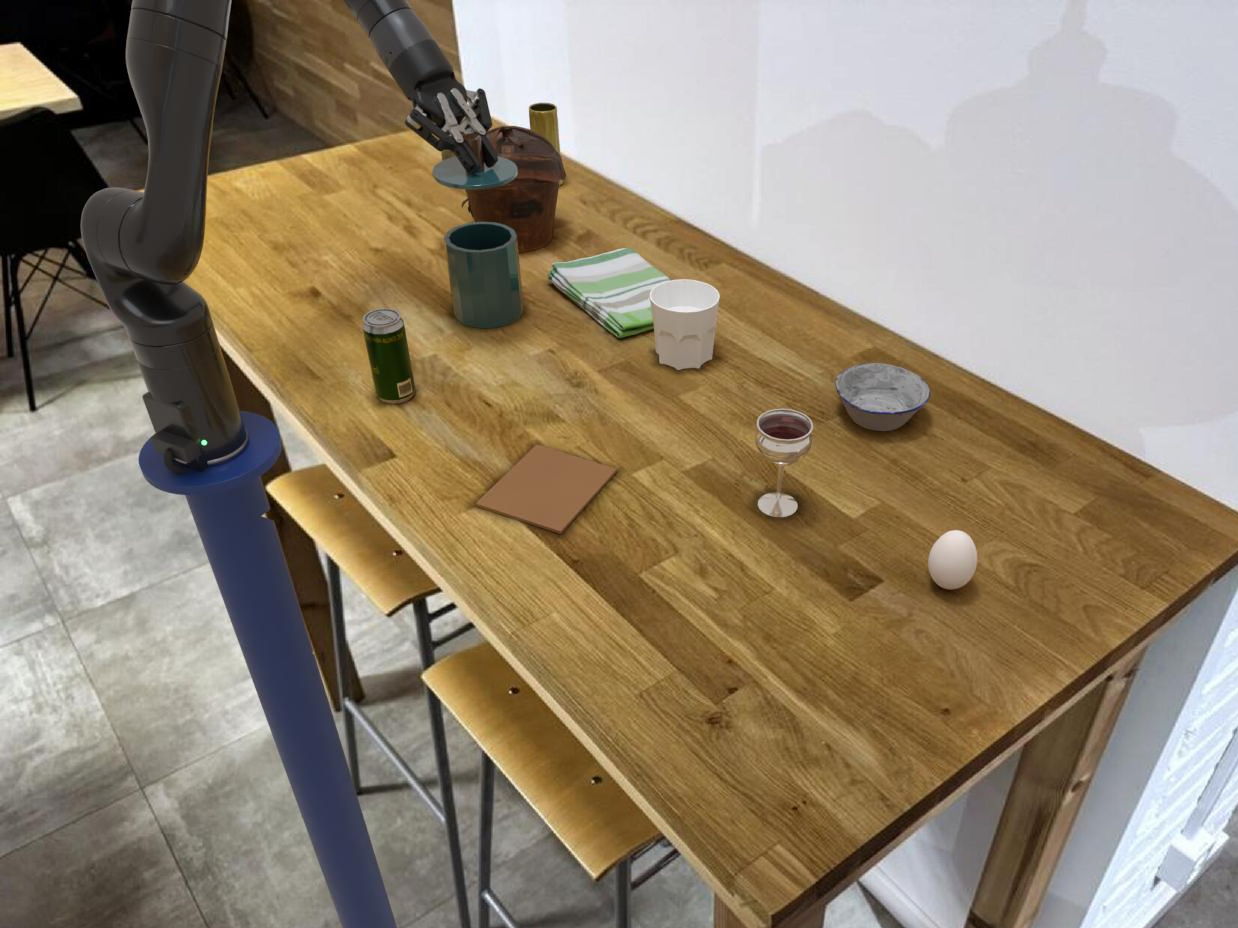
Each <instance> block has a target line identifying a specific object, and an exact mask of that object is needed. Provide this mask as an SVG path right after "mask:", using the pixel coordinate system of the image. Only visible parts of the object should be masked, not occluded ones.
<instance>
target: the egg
mask: <svg viewBox="0 0 1238 928" xmlns="http://www.w3.org/2000/svg"><path fill="white" fill-rule="evenodd" d="M927 567H928V568H927V569H928V572H929V575H930V577H931V579H932V580H933V582H934V583H935V584H936V585H937V586H939V587H941V588H942V589H945V590H956V589H960V588H962V587H964V586H965V585H967V584H968V583H969V582H970V581H971V580H972V578H973V576H974V575H975V573H976V570H977V567H978V551H977V548H976V544H975V543H974V541H973V538H971V536H970V535H969V534H968V533H966V532H965V531H963V530H959V529H954V530H949V531H946V532H945V533H943V534H942V535H941V536H940V537H939V538H938V539H936V541H935V542H934V543H933V545H932V547H931V549H930V551H929V555H928V559H927Z"/></svg>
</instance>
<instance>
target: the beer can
mask: <svg viewBox="0 0 1238 928" xmlns="http://www.w3.org/2000/svg"><path fill="white" fill-rule="evenodd" d="M361 327H362V333H363V337H364V342H365V347H366V352H367V353H366V354H367V357H368V362H369V367H370V371H371V376H372V382H373V388H374V391H375V395H376V397H378V399H379V400H380V401H381V402H383V403H385V404H389V405H396V404H398V405H399V404H402V403H406V402H408V401H409V400H411V399H412V398H413V396H414V395H415V393H416V383H415V379H414V373H413V367H412V361H411V355H410V349H409V344H408V343H409V342H408V338H407V332H406V327H405V321H404V319H403V318H402V314H401V313H400V312H399V311H398V310H396V309H393V308H377V309H373V310H370V311H368V312H366V313H365V314H364V315H363V317H362V325H361Z"/></svg>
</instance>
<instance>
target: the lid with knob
mask: <svg viewBox="0 0 1238 928" xmlns="http://www.w3.org/2000/svg"><path fill="white" fill-rule="evenodd" d="M462 137H463V143H465V142H467V144H468V145H469V147H470V148H471V150H472V151H473V153H474V154H475V156H476V157H477V159H478V160H479V162H480V164H481V168H480V169H479V170H478V171H477V173H474V174H470V173H469V171H467V170H465V169H464V167H463V166H462V164H461V163H460V161H459V160H458V158H457V157H452V158H448V159H445V160H441V161H439V162H438V163H436V164H435V165H434V166H433V167H432V170H431V173H432V178H433V180H434V181H435V182H437V184H440V185H442V186H444V187H447V188H453V189H458V190H465V189H467V190H477V189H488V188H494V187H498V186H501V185H504V184H507V183H509V182H511V181H512V180H514V179H515V178H516V176H517V174H518V170H517V166H516V165H515V163H513V162H512V161H510V160H508V159H506V158H503V157H499V156H498V161H497V162H496V164H495V165H494V166H493V167H490V168H488V167H487V166H486V165H485V163H484V159H483V149H482V139H481V136H480V135H479V134H473V133H471V134H465V135H463V136H462Z"/></svg>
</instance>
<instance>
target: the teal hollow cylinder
mask: <svg viewBox="0 0 1238 928" xmlns="http://www.w3.org/2000/svg"><path fill="white" fill-rule="evenodd" d="M443 244H444V253H445V259H446V266H447V273H448V280H449V287H450V295H451V301H452V308H453V312H454V317H455V319H456V320H457V321H458V322H459V323H461V324H463V325H465V326H468V327H471V328H476V329H496V328H502V327H505V326H508V325H511V324H513V323H514V322H517V321H518V320H519V319H521V317H522V315H523V313H524V297H523V287H522V286H523V285H522V276H521V275H522V274H521V263H520V255H519V253H520V252H518V242H517V235H516V233H515V231H514V229H512V228H510V227H508V226H507V225H504V224H499V223H495V222H475V221H473V222H467V223H462V224H460V225H457V226H455V227H452V228H451V229H450V230H448V231H446V233H445V235H444V237H443Z"/></svg>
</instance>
